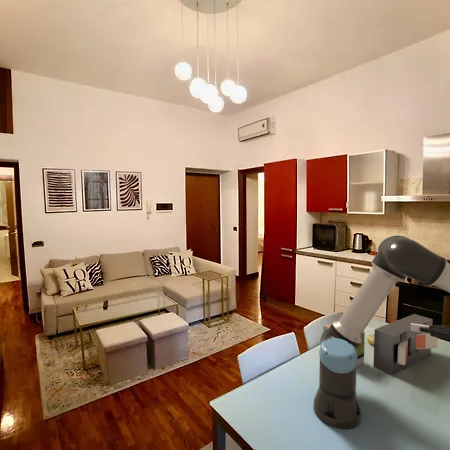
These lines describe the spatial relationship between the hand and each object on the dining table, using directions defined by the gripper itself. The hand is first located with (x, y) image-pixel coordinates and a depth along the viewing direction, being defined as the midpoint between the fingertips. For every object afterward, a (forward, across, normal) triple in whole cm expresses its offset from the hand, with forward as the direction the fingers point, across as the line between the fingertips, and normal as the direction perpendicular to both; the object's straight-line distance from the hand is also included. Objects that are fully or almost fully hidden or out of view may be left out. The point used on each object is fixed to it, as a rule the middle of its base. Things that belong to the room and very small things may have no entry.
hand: (411, 327), depth 115 cm
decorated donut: (+24, +23, -18) cm, 38 cm away
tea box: (+28, -5, -18) cm, 34 cm away
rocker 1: (+7, +6, -15) cm, 18 cm away
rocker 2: (+4, +23, -15) cm, 28 cm away
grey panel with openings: (+10, +15, -20) cm, 27 cm away
